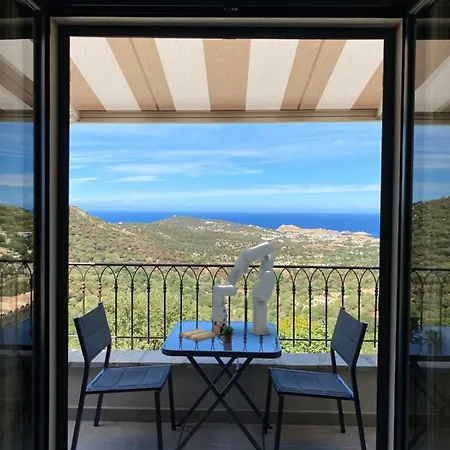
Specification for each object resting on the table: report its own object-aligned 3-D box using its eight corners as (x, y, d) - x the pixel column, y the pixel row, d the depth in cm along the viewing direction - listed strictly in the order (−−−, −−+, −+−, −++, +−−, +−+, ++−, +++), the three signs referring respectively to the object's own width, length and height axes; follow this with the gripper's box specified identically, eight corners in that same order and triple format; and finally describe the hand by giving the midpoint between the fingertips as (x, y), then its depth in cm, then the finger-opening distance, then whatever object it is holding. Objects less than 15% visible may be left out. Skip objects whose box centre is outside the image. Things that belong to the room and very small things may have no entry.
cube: (224, 332, 254) (224, 325, 254) (219, 334, 250) (219, 326, 250) (218, 331, 258) (218, 323, 258) (213, 333, 254) (213, 325, 254)
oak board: (216, 336, 248) (216, 333, 248) (198, 341, 236) (198, 338, 236) (198, 331, 259) (198, 328, 259) (180, 336, 246) (180, 333, 246)
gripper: (232, 304, 251) (232, 333, 251) (212, 301, 262) (212, 328, 262) (225, 306, 246) (224, 335, 246) (205, 303, 257) (205, 331, 257)
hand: (218, 331), depth 254 cm, fingers closed on cube, 5 cm apart
